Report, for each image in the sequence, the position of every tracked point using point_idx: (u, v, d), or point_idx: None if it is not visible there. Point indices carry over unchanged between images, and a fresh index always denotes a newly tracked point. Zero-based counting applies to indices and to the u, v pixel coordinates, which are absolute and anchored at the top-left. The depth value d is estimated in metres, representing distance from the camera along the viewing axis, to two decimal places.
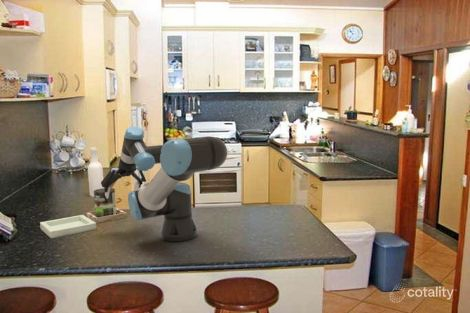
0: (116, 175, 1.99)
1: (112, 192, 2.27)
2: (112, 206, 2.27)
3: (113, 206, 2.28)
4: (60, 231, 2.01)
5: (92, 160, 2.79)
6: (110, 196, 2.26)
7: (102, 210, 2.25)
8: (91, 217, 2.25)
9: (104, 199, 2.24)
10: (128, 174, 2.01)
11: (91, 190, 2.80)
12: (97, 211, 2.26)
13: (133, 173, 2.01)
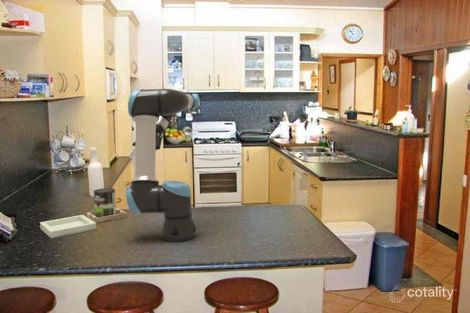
0: None
1: (112, 192, 2.27)
2: (112, 206, 2.27)
3: (113, 206, 2.28)
4: (60, 231, 2.01)
5: (92, 160, 2.79)
6: (110, 196, 2.26)
7: (102, 210, 2.25)
8: (91, 217, 2.25)
9: (104, 199, 2.24)
10: None
11: (91, 190, 2.80)
12: (97, 211, 2.26)
13: None
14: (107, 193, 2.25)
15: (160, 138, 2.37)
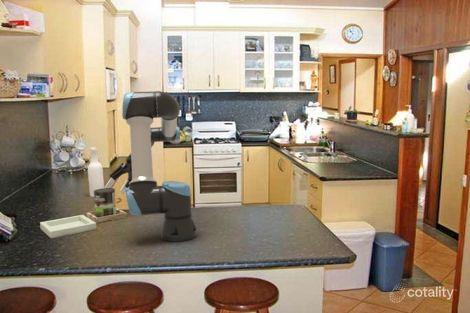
0: None
1: (112, 192, 2.27)
2: (112, 206, 2.27)
3: (113, 206, 2.28)
4: (60, 231, 2.01)
5: (92, 160, 2.79)
6: (110, 196, 2.26)
7: (102, 210, 2.25)
8: (91, 217, 2.25)
9: (104, 199, 2.24)
10: (127, 169, 2.38)
11: (91, 190, 2.80)
12: (97, 211, 2.26)
13: (129, 167, 2.37)
14: (107, 193, 2.25)
15: None
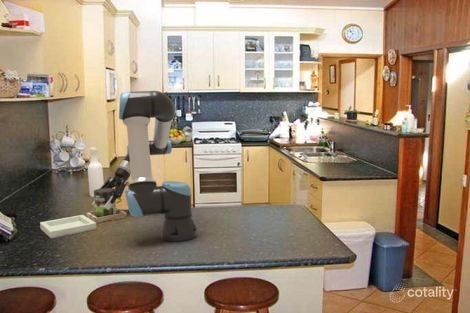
0: None
1: (112, 192, 2.27)
2: (112, 206, 2.27)
3: (113, 206, 2.28)
4: (60, 231, 2.01)
5: (92, 160, 2.79)
6: (110, 196, 2.26)
7: (102, 209, 2.25)
8: (91, 217, 2.25)
9: (104, 199, 2.24)
10: None
11: (91, 190, 2.80)
12: (97, 211, 2.26)
13: (117, 181, 2.31)
14: (107, 193, 2.25)
15: (123, 185, 2.29)
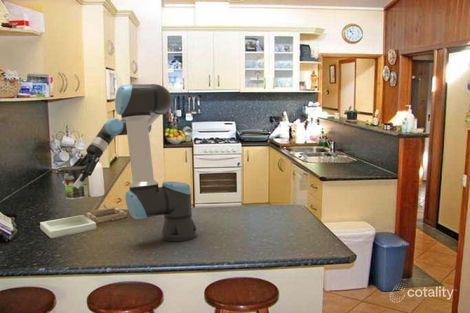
0: None
1: (82, 170, 2.13)
2: (83, 184, 2.14)
3: (84, 185, 2.14)
4: (60, 231, 2.01)
5: None
6: (80, 174, 2.12)
7: (71, 188, 2.12)
8: (91, 217, 2.25)
9: (73, 177, 2.11)
10: (86, 160, 2.19)
11: (91, 190, 2.80)
12: (66, 190, 2.13)
13: (88, 158, 2.18)
14: (76, 170, 2.11)
15: (94, 163, 2.15)
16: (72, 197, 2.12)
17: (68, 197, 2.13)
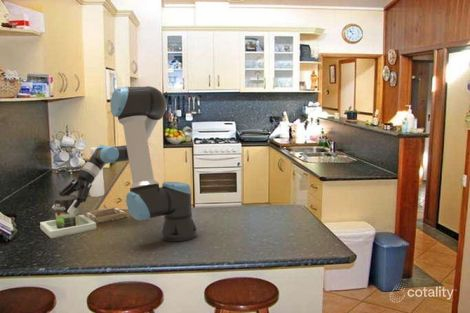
0: None
1: (74, 200, 2.08)
2: (74, 215, 2.09)
3: (75, 215, 2.09)
4: (60, 231, 2.01)
5: None
6: None
7: (62, 219, 2.06)
8: (91, 217, 2.25)
9: (65, 208, 2.06)
10: (77, 186, 2.14)
11: (91, 190, 2.80)
12: (57, 221, 2.08)
13: (80, 184, 2.13)
14: (68, 201, 2.06)
15: (87, 188, 2.10)
16: None
17: (59, 228, 2.08)
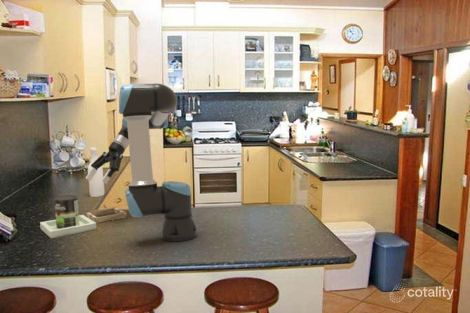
0: None
1: (74, 200, 2.08)
2: (74, 215, 2.09)
3: (75, 215, 2.09)
4: (60, 231, 2.01)
5: (92, 160, 2.79)
6: (72, 204, 2.07)
7: (62, 219, 2.06)
8: (91, 217, 2.25)
9: (65, 208, 2.06)
10: (109, 157, 2.24)
11: (91, 190, 2.80)
12: (57, 221, 2.08)
13: (112, 155, 2.23)
14: (68, 201, 2.06)
15: (119, 159, 2.21)
16: None
17: (59, 228, 2.08)
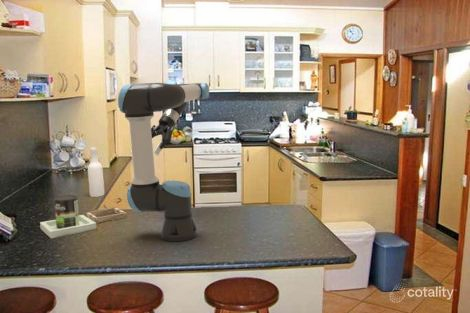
0: None
1: (74, 200, 2.08)
2: (74, 215, 2.09)
3: (75, 215, 2.09)
4: (60, 231, 2.01)
5: (92, 160, 2.79)
6: (72, 204, 2.07)
7: (62, 219, 2.06)
8: (91, 217, 2.25)
9: (65, 208, 2.06)
10: (160, 130, 2.25)
11: (91, 190, 2.80)
12: (57, 221, 2.08)
13: (162, 128, 2.23)
14: (68, 201, 2.06)
15: (170, 131, 2.21)
16: None
17: (59, 228, 2.08)
